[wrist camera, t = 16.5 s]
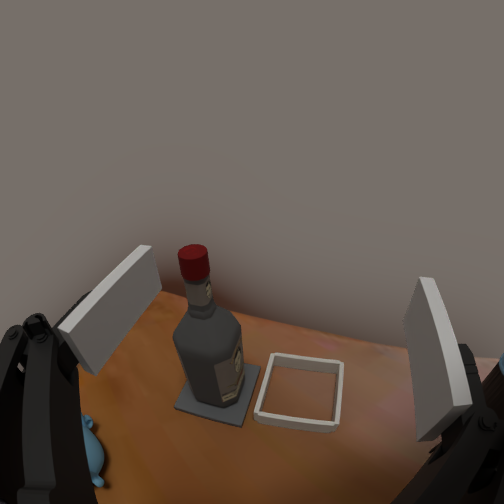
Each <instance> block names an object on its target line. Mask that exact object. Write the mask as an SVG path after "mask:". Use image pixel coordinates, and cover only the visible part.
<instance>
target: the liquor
mask: <svg viewBox="0 0 504 504" xmlns="http://www.w3.org/2000/svg"><path fill="white" fill-rule="evenodd" d="M178 259H179V265H180V270H181V275H182V277H183V279H184V284H185V289H186V294H187V299H188V305H189V306H188V311H187V312H186V313H185V315H184V317H183V318H182V320H181V321H180V323H179V324H178V326H177V328H176V329H175V331H174V333H173V341H174V344H175V347H176V350H177V353H178V356H179V359H180V361H181V364H182V367H183V370H184V373H185V375H186V378H187V381H188V383H189V386H190V389H191V391H192V393H193V395H194V396H195V398H196V400H198V401H201V402H205V403H208V404H212V405H216V406H220V407H226V406H228V405H231V404H233V403H235V402H237V401H238V398H239V395H240V392H241V390H242V387H243V384H244V381H245V371H244V359H243V347H242V335H241V325H240V324H239V322H238V321H237V320H236V318H235V317H234V316H233V314H232V313H231V312H230V311H228V310H226V309H224V308H222V307H219V306H217V305H216V304H215V302H214V300H213V295H212V289H211V282H210V276H209V273H210V267H209V259H208V252H207V248H206V247H205V246H203V245H199V244H191V245H188V246H184V247H183V248H182V249H180V250H179V252H178Z"/></svg>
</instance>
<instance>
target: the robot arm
mask: <svg viewBox="0 0 504 504" xmlns="http://www.w3.org/2000/svg"><path fill="white" fill-rule="evenodd" d="M161 289H162V286H161V282H160V278H159V274H158V270H157V266H156V262H155V257H154V253H153V249H152V246H145V245H140V246H139V247H138V248H136V249H135V250H134V251H133V252H132V253H131V254H130V255H129V256H128V257H127V258H126V259H125V260H124V261H122V262H121V263H120V264H119V265H118V266H117V267H116V268H115V269H114V270H113V271H112V272H111V273H110V274H109V275H108V276H107V277H106V278H105V279H104V280H103V281H102V282H101V283H100V284H99V285H98V286H97V287H96V288H95V289H94V290H91V291H90V292H88V293H86V294H85V295H83V296H82V297H81V298H80V299H79V300H78V301H77V303H76V304H74V305H73V306H72V307H71V309H69V311H68V312H67V313H66V314H65V315H64V316H63V317H62V318H61V319H60V320H59V321H58V322H57V323H56V324H55V326H54V327H53V328H51V326H50V325H49V323H48V321H47V320H46V317H45V316H44V315H43V314H41V313H36V314H33V315H31V316H30V317H28V318H27V319H26V320H25V321H24V323H23V325H22V326H21V325H14V326H12V327H10V328H9V329H8V330H7V332H6V333H5V335H4V337H3V339H2V342H1V343H0V504H98V502H97V499H96V495H95V492H94V488H93V483H92V479H91V474H90V470H89V465H88V459H87V454H86V448H85V441H84V434H83V427H82V418H81V407H80V394H79V372H78V368H77V367H76V366H77V364H78V363H80V364H81V366H82V367H83V369H84V370H85V371H87V372H89V373H91V374H93V375H95V376H97V374H98V373H99V371H100V370H101V369H102V367H103V366H104V364H105V363H106V362H107V360H108V359H109V357H110V356H111V355H112V353H113V352H114V351H115V349H116V348H117V347H118V345H119V344H120V343H121V341H122V340H123V338H124V337H125V336H126V334H127V333H128V332H129V331H130V329H131V328H132V327H133V325H134V324H135V323H136V321H137V320H138V319H139V317H140V316H141V315H142V313H143V312H144V311H145V310H146V308H147V307H148V306H149V304H150V303H151V302H152V301H153V299H154V298H155V297H156V296H157V294H158V293H159V292H160V290H161ZM403 325H404V330H405V336H406V342H407V348H408V354H409V361H410V368H411V376H412V384H413V394H414V405H415V418H416V441H417V442H421V441H432V440H435V439H436V438H437V437H438V436H439V435H441V437H442V442H440V443H439V444H438V445H437V446H435V447H434V448H433V449H432V450H431V451H430V452H429V453H430V454H431V453H432V452H433V451H434V452H433V453H432V454H431V456H430V457H429V458H428V460H427V461H426V462H425V464H424V465H423V466H422V468H421V469H420V470H419V471H418V473H417V474H416V475H415V476H414V478H413V479H412V480H411V481H410V482H409V484H408V485H407V486H406V487H405V488H404V489H403V490H402V492H401V493H400V494H399V495H398V496H397V497H396V498H395V499H394V500H393V501H392V502H391V503H390V504H504V353H503V354H502V356H501V357H500V360H499V362H498V363H497V365H496V366H495V367H494V368H493V370H492V371H491V372H490V373H489V375H488V376H487V377H486V378H485V379H484V381H483V382H482V383H481V381H480V377H479V375H478V370H477V366H475V365H476V363H475V359H474V356H473V353H472V352H471V350H470V349H469V348H468V346H467V345H466V344H457V341H456V338H455V335H454V332H453V329H452V326H451V323H450V320H449V317H448V314H447V312H446V309H445V306H444V303H443V301H442V298H441V296H440V293H439V291H438V289H437V286H436V283H435V281H434V279H433V278H426V277H419V279H418V282H417V285H416V288H415V290H414V294H413V296H412V299H411V302H410V304H409V307H408V309H407V312H406V314H405V317H404V319H403ZM18 363H20V364H21V365H22V366H23V368H24V369H23V371H22V372H21V371H20V370H19V369H18V367H17V366H18Z"/></svg>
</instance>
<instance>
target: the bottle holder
mask: <svg viewBox="0 0 504 504" xmlns="http://www.w3.org/2000/svg"><path fill="white" fill-rule="evenodd" d="M274 366H280V367H287V368H294V369H301V370H309V371H317V372H325V373H335V374H336V385H335V396H334V406H333V414H332V422H331V421H321V420H312V419H304V418H296V417H289V416H283V415H277V414H271V413H266V412H261V411H262V407H263V404H264V400H265V397H266V393H267V390H268V386H269V383H270V379H271V375H272V372H273V368H274ZM343 370H344V363H343V362H340V361H339V360H329V359H320V358H312V357H304V356H297V355H290V354H283V353H277V352H275V354H273V353H271V355H270V359H269V362H268V366H267V369H266V373H265V376H264V380H263V383H262V386H261V390H260V393H259V396H258V400H257V403H256V406H255V409H254V420H256V421H258V423H261V424H266V425H272V426H278V427H284V428H290V429H297V430H305V431H313V432H323V433H330V432H331V431H333V432H335V430H336V429H337V427H338V425H339V420H340V410H341V399H342V386H343Z"/></svg>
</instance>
